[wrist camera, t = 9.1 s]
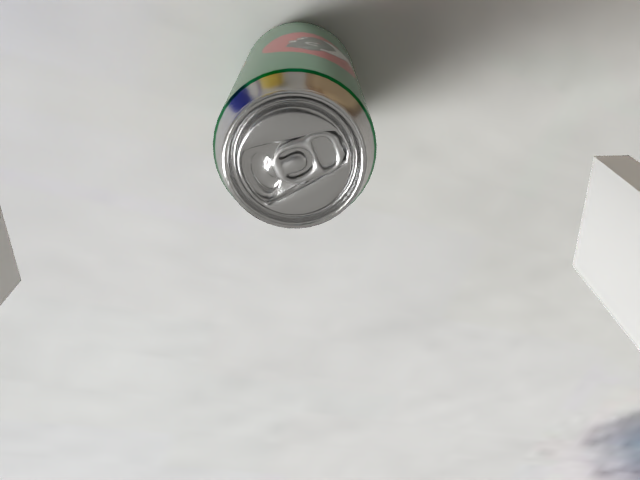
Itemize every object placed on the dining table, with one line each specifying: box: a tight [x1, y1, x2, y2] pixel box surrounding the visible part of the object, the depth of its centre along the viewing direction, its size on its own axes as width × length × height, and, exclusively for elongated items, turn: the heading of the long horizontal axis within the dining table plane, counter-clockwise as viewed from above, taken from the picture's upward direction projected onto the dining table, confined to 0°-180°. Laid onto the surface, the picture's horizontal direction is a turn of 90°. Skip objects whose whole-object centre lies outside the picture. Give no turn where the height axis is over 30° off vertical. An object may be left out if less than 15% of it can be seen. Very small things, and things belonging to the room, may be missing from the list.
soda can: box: [213, 22, 376, 228], centre depth 23 cm, size 5×5×12 cm
